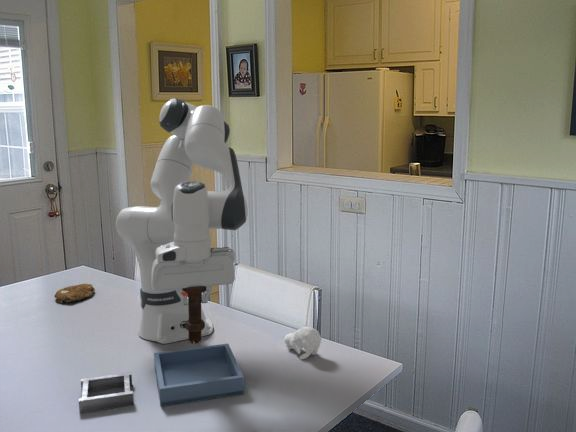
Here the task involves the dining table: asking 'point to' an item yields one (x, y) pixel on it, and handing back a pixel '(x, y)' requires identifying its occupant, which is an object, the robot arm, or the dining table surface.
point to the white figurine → (304, 341)
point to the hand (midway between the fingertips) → (194, 303)
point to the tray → (197, 374)
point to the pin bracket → (106, 400)
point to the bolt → (194, 313)
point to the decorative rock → (74, 293)
